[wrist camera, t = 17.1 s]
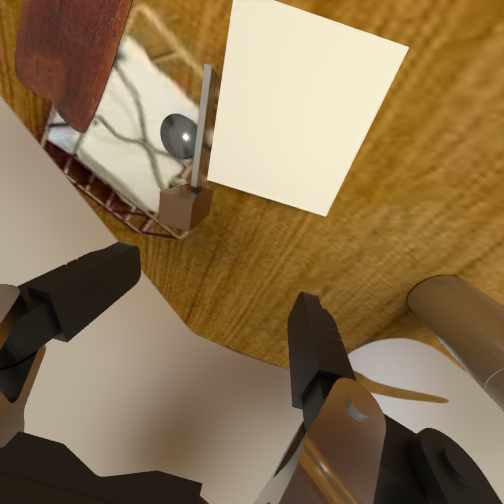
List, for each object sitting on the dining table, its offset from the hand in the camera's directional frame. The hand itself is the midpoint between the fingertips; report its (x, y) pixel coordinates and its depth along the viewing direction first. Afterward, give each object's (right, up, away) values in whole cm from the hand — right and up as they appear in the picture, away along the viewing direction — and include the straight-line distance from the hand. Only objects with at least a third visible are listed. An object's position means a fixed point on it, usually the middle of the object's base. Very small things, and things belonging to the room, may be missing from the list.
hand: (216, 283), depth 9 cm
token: (-8, +18, +17) cm, 26 cm away
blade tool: (-5, +16, +17) cm, 24 cm away
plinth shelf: (+6, +17, +15) cm, 24 cm away
